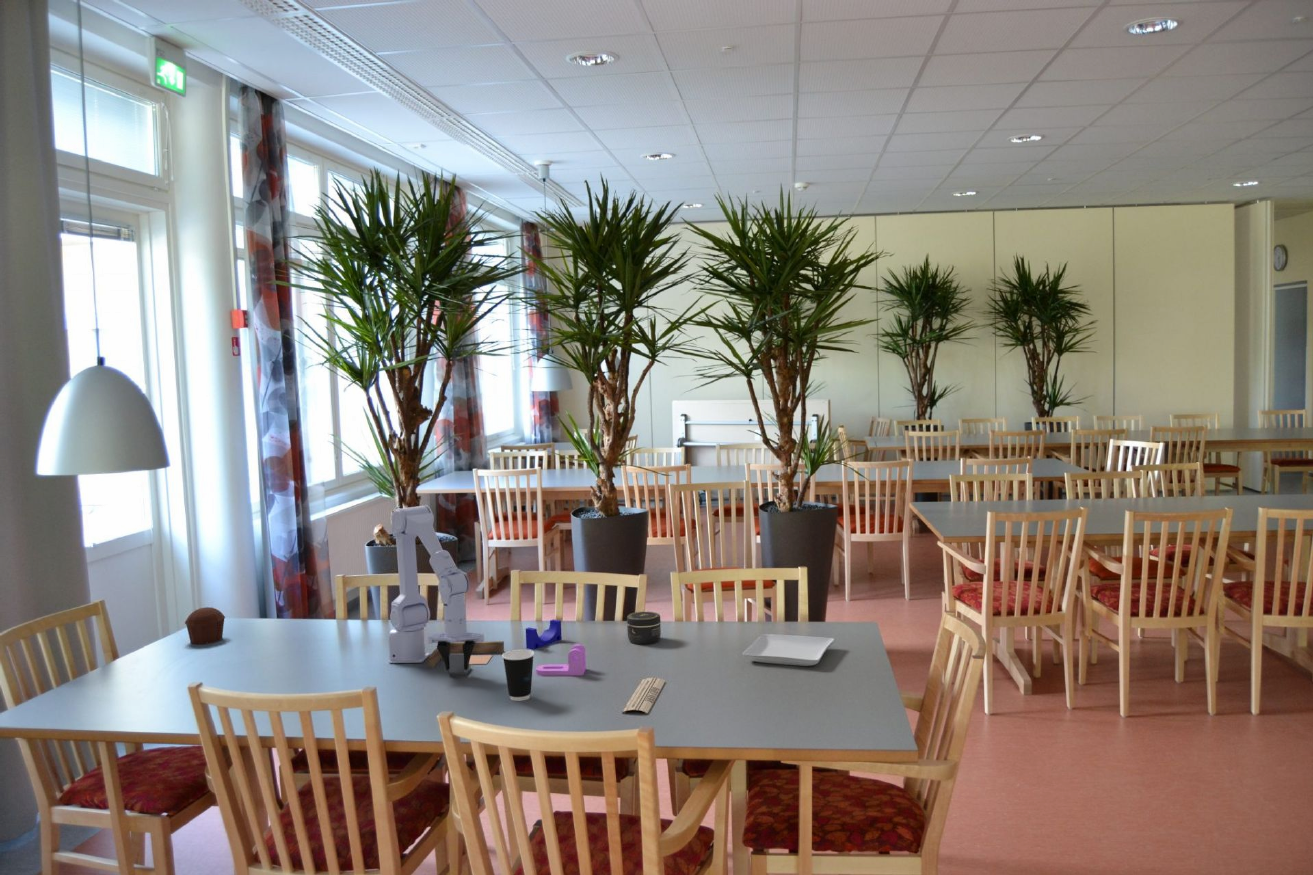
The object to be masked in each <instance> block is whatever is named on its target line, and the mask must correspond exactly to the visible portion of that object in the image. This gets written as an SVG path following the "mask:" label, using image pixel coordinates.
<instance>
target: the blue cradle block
mask: <svg viewBox="0 0 1313 875" xmlns="http://www.w3.org/2000/svg"><path fill="white" fill-rule="evenodd" d="M562 640H563V638H562V620H560V619H554V618H553V619H551V620H549V628H548V629H544V630H543V632H542V633H541V635H539V633H538V629H537V628H535V627H534V628H533V627H526V628H525V646H526V648H525V649H526V650H531V651H535V650H537V649H540V648H543V647H546V646H548V645H551V644H555V643H557V642H560V641H562Z"/></svg>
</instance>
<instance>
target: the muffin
mask: <svg viewBox="0 0 1313 875" xmlns="http://www.w3.org/2000/svg"><path fill="white" fill-rule="evenodd" d="M225 619H226V616H225V615H224V614H223V612H221V611H220V610H219V609H217V608H215V607H200V608H198V609H195V610H193V611H192V612H191V613H189V615H188V617H187V618H186V620H185V621H184V624H185V625H186V628H187V633H188V637H189V641H190V643H191V644H193V645H206V644H213V643H216V642H219V641H221V640H222V639H223V635H224V633H223V631H224V625H225V624H224V623H225Z"/></svg>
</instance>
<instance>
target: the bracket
mask: <svg viewBox="0 0 1313 875" xmlns="http://www.w3.org/2000/svg"><path fill="white" fill-rule="evenodd" d="M570 649H571V650H570V651H569V653H568V655H567V661H568V662H567V664H566V663H565V664H563V663H561V664H559V663H558V664H557V663H556V664H553V663H552V664H541V665H538V666H536V667H535V674H536V675H537V676H542V677H543V676H545V677H547V676H550V677H551V676H554V677H555V676H584V674H585V672H586V669H587V661H586V660H587V659H586V658H587V657H586V649H585V646H584V645H582V644H581V643H576V644H574V645H572V648H570Z"/></svg>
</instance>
